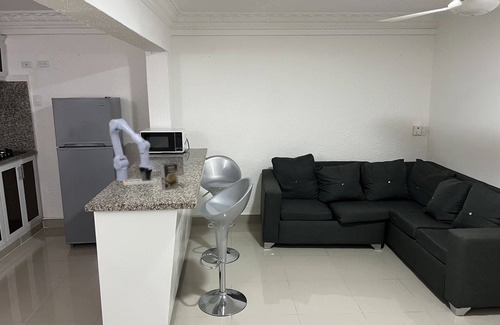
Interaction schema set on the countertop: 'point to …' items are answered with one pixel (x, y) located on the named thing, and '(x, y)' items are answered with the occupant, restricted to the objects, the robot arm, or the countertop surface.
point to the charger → (144, 176)
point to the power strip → (138, 181)
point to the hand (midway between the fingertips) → (146, 178)
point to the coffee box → (169, 176)
